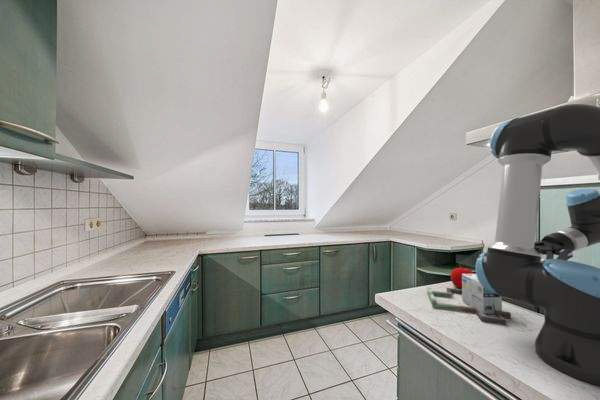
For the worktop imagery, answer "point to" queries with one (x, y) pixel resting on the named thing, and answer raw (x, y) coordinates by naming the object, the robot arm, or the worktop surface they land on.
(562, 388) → the worktop surface
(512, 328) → the worktop surface
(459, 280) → the fruit
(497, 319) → the trap lane
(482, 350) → the worktop surface
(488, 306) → the light bulb box
